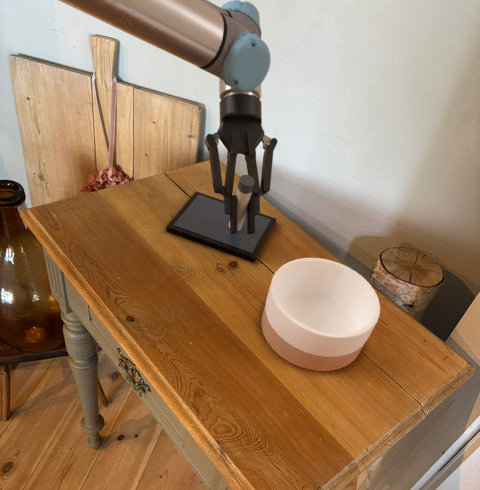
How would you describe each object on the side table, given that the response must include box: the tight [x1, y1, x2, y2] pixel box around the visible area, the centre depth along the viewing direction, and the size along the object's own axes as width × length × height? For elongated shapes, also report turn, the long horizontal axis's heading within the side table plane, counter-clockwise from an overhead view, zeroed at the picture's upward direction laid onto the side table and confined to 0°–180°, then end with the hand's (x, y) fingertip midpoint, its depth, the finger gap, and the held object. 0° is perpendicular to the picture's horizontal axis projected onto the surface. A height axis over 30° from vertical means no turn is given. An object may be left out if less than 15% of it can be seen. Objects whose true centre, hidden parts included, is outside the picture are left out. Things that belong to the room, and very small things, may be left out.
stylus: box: [229, 174, 255, 231], centre depth 85 cm, size 3×3×12 cm
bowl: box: [260, 257, 381, 372], centre depth 74 cm, size 17×17×8 cm
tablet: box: [165, 190, 277, 264], centre depth 91 cm, size 18×14×1 cm
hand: (242, 232), depth 84 cm, fingers closed on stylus, 3 cm apart
